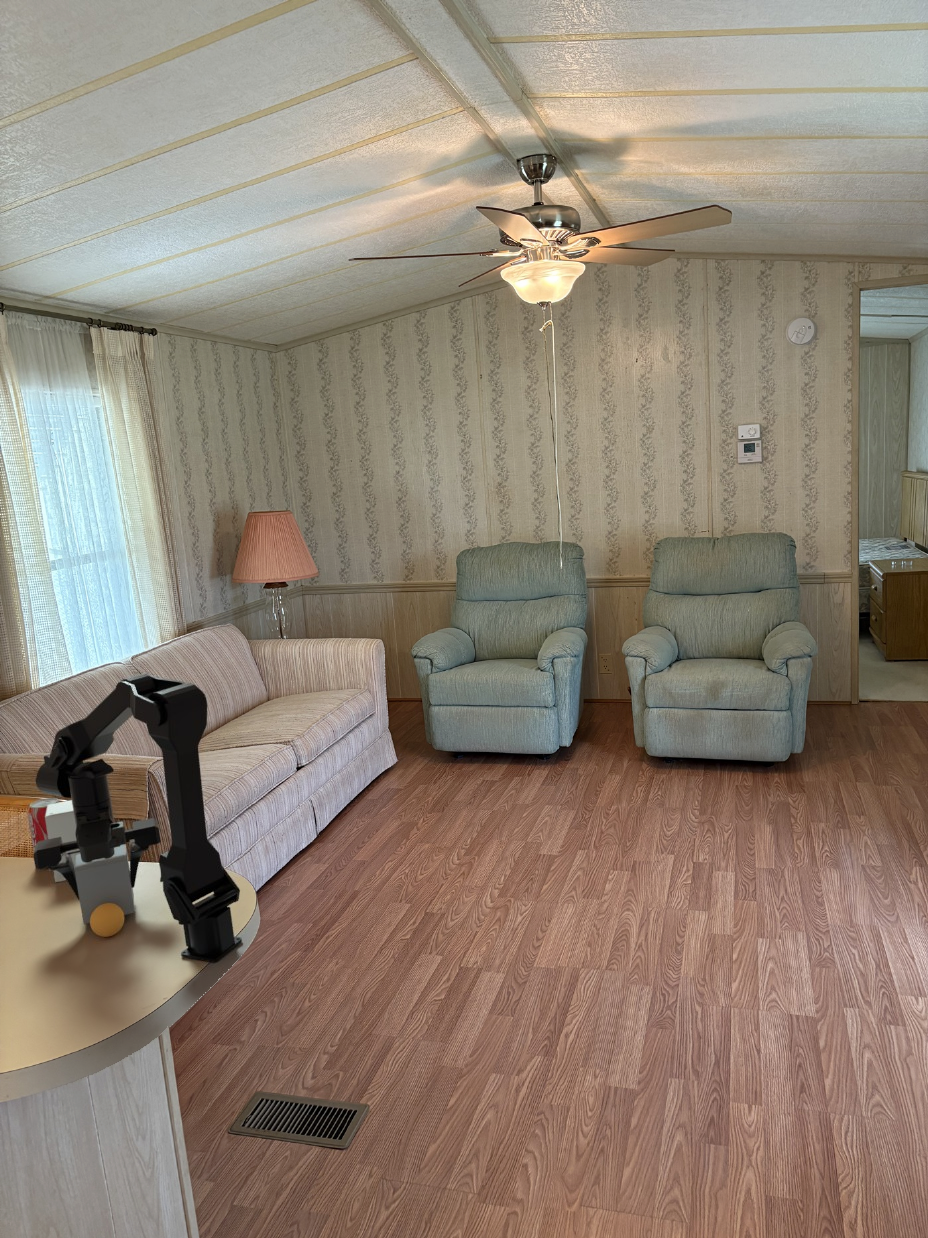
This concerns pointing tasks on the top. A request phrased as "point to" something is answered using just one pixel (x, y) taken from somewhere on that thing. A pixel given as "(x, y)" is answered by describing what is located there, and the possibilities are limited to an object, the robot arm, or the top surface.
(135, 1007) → the top surface
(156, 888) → the top surface
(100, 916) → the ball
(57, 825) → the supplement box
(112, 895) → the pale grey box
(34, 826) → the beverage can
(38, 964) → the top surface
